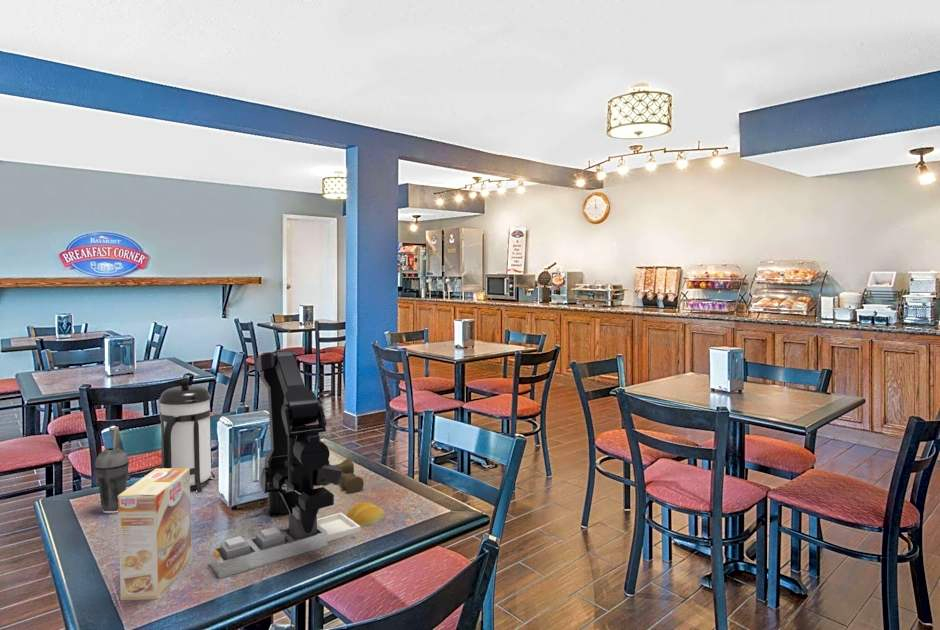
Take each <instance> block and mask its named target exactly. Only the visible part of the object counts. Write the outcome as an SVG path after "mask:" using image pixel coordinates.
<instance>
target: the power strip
mask: <svg viewBox="0 0 940 630" xmlns="http://www.w3.org/2000/svg"><path fill="white" fill-rule="evenodd" d="M278 530H279V529H278ZM279 531H280V532H281V533H282V534H283V535H284V536H285V543H284V544H281V545H277V546H274V547H270V548H267V549H263V550H260V549H259V548H258V547H257V546H256V536H254V537H250V538H248V539H245V540H246V541H247V543H248V544H249V545H250V553H249V554H246V555H242V556H239V557H235V558H232V559H228V560H225V561H224V560H223V559H222V558H221V551H220V546H217V547H214V548H210V549H208V553H209V554H208V557H209V559H208V560H209V561H208V562H209V566H210V568H212V571H213V572H214V573H215V575H216V576H217V578H218V579H224V578H227V577H230V576H235V575H237V574H241V573H244V572H247V571H250V570H252V569H254V568H255V569H256V568H258V567H262V566H266V565H268V564H271V563H274V562H279V561H282V560H284V559H288V558H291V557H294V556H297V555H301V554H304V553H307V552H310V551H314V550H317V549H320V548H324V547H327V546H328V544H329V543H328V542H329V541H328V538H327V531H325V530H324V529H323V528H322V527H321V526H319V525H318V524H317V534H315V535H312V536H308V537H305V538H301V539H298V540H294V539H293V538H292V537H291V536H290V535H289V527H287V528H284V529H280V530H279Z"/></svg>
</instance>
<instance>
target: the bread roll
mask: <svg viewBox="0 0 940 630" xmlns="http://www.w3.org/2000/svg"><path fill="white" fill-rule="evenodd" d="M385 515H386V514H385V511H384V510H383V508H381V507H378V506H376V504H374V503H372V502H368V501H362V502H359V503H356V504H354V505H353V506H352V507H351V508H350V509H349V510H348V512H347V515H346V516H347V517H348V518H350V519H351V520H353V521H354V522H355V523H357V524H358V525H360V526H361V527H368V526H369V527H370V526H375V525H378V524H380V523H381V522H383V521H384V520H385V519H386V518H385Z"/></svg>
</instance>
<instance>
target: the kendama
mask: <svg viewBox="0 0 940 630" xmlns="http://www.w3.org/2000/svg"><path fill="white" fill-rule="evenodd" d="M332 465H333V466H335V467H337V468H339V469H341V470H342V474H341V478H340V486H341V488H343V489H345V492H346V493H347V494H354V493H358V492H362V491H363V489H364V480H363V478H362V477H360V476H357V475H356V474H355V467H354V462H353V461H352V459H350V458H346V459H344V460H343V461H342V462H341V463H337V464H332ZM325 484H326V482H322V485H325Z"/></svg>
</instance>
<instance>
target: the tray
mask: <svg viewBox="0 0 940 630" xmlns="http://www.w3.org/2000/svg"><path fill="white" fill-rule="evenodd" d="M317 524H318V525H319V526H321V527H322V528H323V529H324V530H325V531H327V538H328V542H331V541H333V540H334V541H335V540H338V539H340V538H344V537H348V536H351V535H355V534H357V533H361V532H362V528H361V527H362V526H360V525H358V524H357V523H355V522H354V521H353V520H351V519H350V518H348V517H347V515H345V514H344V513H343V512H338V513H334V514H330V515H327V516H324V517H323V516H322V517H320V518H317Z"/></svg>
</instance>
